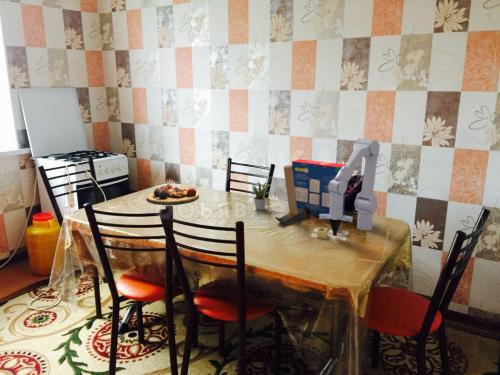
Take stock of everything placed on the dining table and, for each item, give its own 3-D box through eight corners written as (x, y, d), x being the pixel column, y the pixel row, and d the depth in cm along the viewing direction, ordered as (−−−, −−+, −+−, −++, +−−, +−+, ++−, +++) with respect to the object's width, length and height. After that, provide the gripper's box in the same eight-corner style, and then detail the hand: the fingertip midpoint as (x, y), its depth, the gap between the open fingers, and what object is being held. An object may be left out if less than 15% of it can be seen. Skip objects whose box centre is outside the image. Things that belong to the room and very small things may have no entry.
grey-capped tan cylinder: (335, 230, 205) (336, 218, 204) (342, 231, 204) (342, 219, 203) (334, 232, 203) (335, 220, 201) (341, 233, 202) (341, 221, 200)
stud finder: (318, 233, 201) (319, 227, 200) (327, 234, 200) (327, 228, 199) (316, 237, 197) (317, 230, 196) (325, 238, 195) (325, 231, 195)
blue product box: (343, 216, 230) (346, 164, 224) (337, 219, 224) (339, 167, 217) (298, 207, 247) (299, 159, 240) (291, 210, 241) (292, 161, 234)
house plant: (275, 205, 251) (275, 177, 247) (274, 212, 237) (274, 183, 233) (251, 204, 252) (250, 177, 248) (248, 211, 239) (248, 183, 235)
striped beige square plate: (315, 228, 210) (315, 227, 210) (349, 232, 205) (349, 230, 205) (309, 238, 197) (309, 236, 197) (345, 242, 192) (345, 241, 192)
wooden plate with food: (209, 195, 274) (209, 183, 272) (175, 207, 247) (174, 193, 246) (171, 190, 290) (171, 178, 289) (136, 201, 264) (135, 187, 262)
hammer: (283, 229, 216) (275, 173, 205) (276, 227, 220) (268, 172, 209) (310, 215, 227) (304, 161, 216) (303, 213, 231) (297, 159, 220)
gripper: (318, 207, 192) (317, 236, 195) (351, 210, 187) (350, 239, 190) (321, 203, 198) (320, 231, 201) (353, 206, 193) (352, 234, 196)
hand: (335, 235), depth 196 cm, fingers closed
